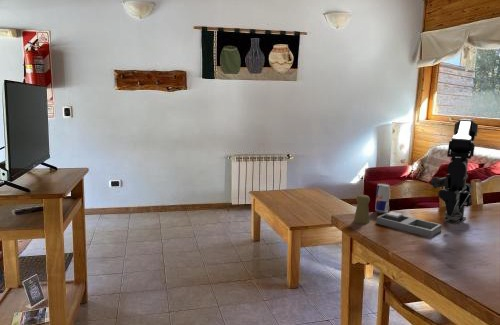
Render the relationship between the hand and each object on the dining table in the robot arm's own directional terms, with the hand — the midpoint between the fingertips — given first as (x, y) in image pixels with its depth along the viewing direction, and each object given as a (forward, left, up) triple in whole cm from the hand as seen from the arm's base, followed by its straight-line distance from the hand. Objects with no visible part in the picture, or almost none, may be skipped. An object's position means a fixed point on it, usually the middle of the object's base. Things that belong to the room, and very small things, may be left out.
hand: (453, 213), depth 153 cm
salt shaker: (0, 0, -4) cm, 4 cm away
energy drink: (-6, -31, -8) cm, 33 cm away
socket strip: (+6, -14, -8) cm, 17 cm away
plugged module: (+6, -20, -8) cm, 22 cm away
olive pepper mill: (+13, -30, -8) cm, 34 cm away
